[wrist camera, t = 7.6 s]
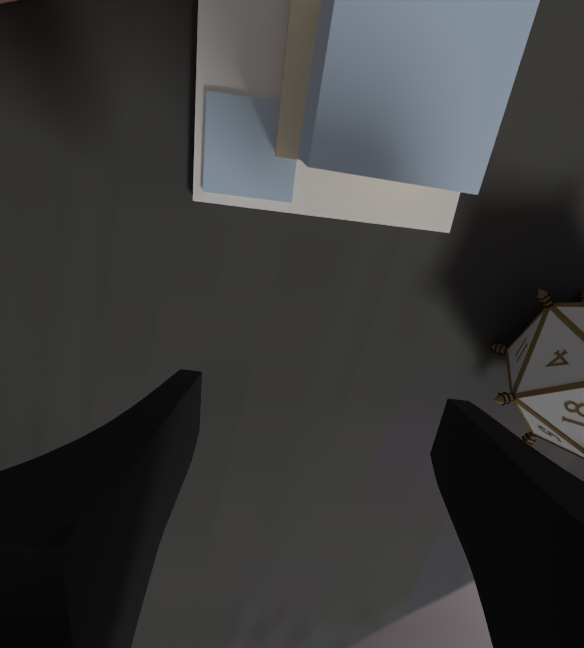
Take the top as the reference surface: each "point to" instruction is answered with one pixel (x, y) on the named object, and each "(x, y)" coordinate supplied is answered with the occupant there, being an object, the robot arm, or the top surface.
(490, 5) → the blue-grey block
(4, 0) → the terracotta block
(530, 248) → the top surface
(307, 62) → the maple base block
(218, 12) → the mat
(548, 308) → the game die
